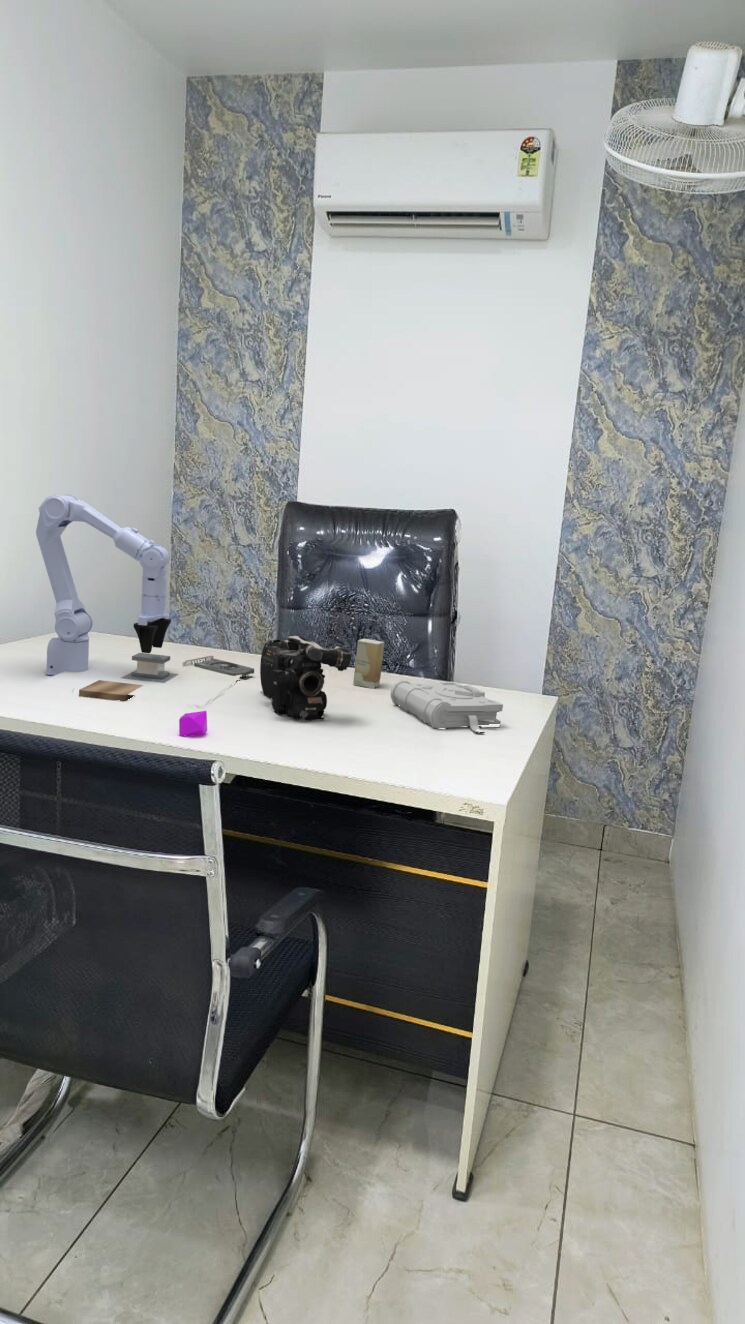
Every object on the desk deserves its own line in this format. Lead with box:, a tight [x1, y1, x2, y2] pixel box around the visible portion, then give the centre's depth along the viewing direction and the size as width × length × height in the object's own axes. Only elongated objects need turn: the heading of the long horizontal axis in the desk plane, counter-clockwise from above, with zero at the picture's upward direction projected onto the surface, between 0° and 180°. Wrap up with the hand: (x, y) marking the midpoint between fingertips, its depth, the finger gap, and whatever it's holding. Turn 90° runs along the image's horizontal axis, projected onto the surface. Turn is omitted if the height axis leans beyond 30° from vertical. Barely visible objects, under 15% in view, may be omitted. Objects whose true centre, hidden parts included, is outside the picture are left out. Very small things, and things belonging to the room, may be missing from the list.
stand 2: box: [120, 672, 179, 684], centre depth 230 cm, size 11×11×2 cm
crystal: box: [178, 710, 208, 737], centre depth 189 cm, size 5×5×5 cm
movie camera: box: [259, 635, 352, 722], centre depth 216 cm, size 31×18×18 cm, turn 26°
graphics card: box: [182, 655, 255, 678], centre depth 245 cm, size 17×4×12 cm
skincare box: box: [352, 638, 385, 689], centre depth 245 cm, size 6×4×12 cm
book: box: [390, 679, 504, 733], centre depth 219 cm, size 19×28×8 cm
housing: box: [130, 652, 171, 680], centre depth 229 cm, size 8×5×5 cm, turn 83°
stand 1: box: [78, 679, 144, 702], centre depth 215 cm, size 11×11×2 cm
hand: (151, 650), depth 228 cm, fingers open, 7 cm apart
